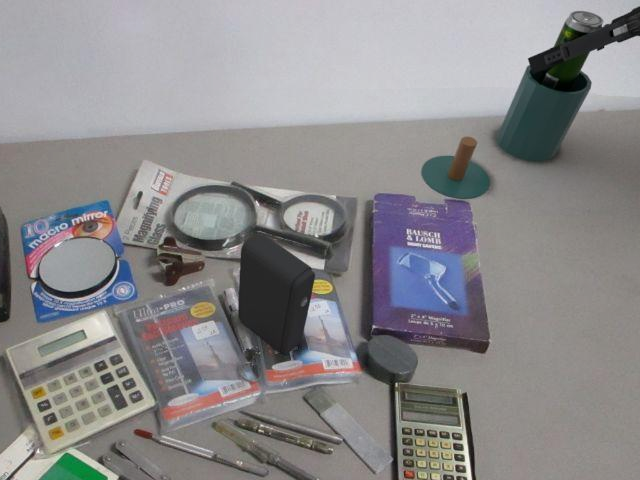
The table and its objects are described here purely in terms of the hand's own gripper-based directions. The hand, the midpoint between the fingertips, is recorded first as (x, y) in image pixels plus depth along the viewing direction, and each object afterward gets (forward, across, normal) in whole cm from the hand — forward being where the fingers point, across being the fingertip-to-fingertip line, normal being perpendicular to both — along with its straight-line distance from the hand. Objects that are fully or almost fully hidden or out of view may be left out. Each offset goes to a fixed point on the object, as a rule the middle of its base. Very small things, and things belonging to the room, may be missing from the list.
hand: (542, 60), depth 99 cm
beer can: (0, 0, -5) cm, 5 cm away
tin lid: (+8, -18, -12) cm, 24 cm away
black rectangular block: (+4, -65, -18) cm, 67 cm away
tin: (+8, 0, -13) cm, 16 cm away
